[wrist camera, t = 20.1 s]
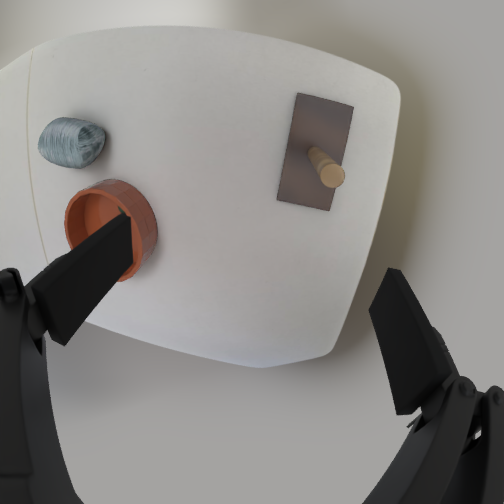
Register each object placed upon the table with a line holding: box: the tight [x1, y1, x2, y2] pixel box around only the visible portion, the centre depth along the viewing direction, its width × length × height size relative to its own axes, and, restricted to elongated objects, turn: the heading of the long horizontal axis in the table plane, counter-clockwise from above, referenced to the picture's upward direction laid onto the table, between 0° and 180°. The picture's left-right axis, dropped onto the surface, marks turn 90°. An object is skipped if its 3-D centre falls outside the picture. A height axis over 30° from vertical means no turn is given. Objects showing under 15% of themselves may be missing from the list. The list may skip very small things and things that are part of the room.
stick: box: [308, 146, 345, 188], centre depth 29 cm, size 2×2×15 cm
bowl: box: [64, 179, 157, 282], centre depth 43 cm, size 18×18×6 cm
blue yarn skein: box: [38, 117, 105, 169], centre depth 35 cm, size 14×10×10 cm
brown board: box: [277, 93, 354, 211], centre depth 36 cm, size 16×8×2 cm, turn 171°
